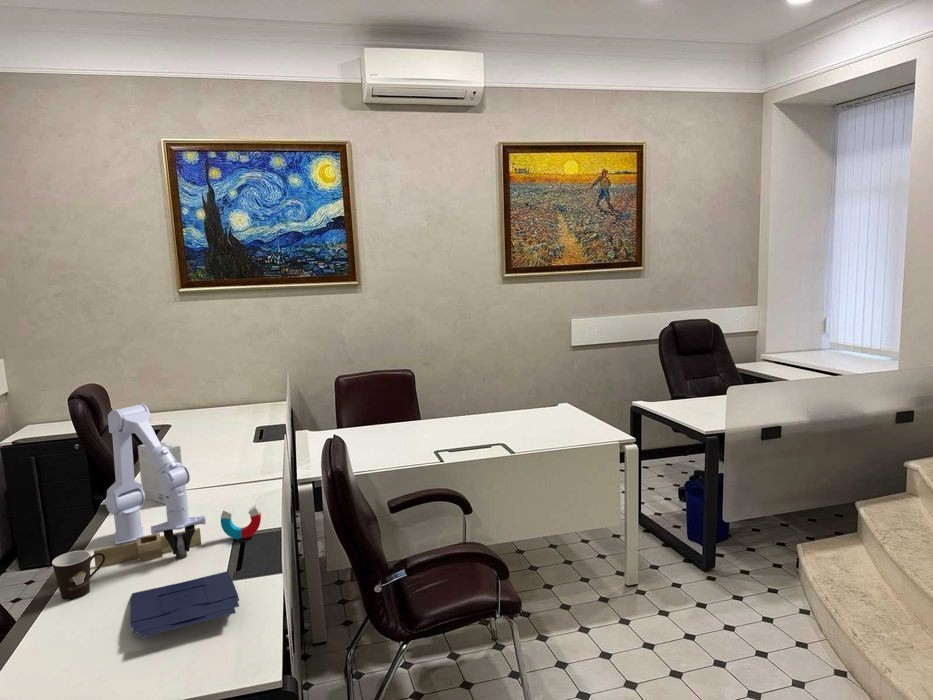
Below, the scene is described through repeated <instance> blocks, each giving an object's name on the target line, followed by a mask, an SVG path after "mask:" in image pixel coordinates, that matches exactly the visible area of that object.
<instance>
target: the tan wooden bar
mask: <svg viewBox="0 0 933 700" xmlns="http://www.w3.org/2000/svg"><path fill="white" fill-rule="evenodd" d="M179 532H180V531H179ZM179 532H173V534H176V533H179ZM182 532H184V533H185V530H182ZM201 536H202V535H201V528H200V527H198V528H195V532H194V534H193V536H192V539H191V543H190V548H192V547H198V546H202V537H201ZM185 538H186V535H185ZM174 545H175V541H174ZM170 552H173V551H172V548H171V546H170V544H169V542H168V541H167V539H166V538H165V536H164V534H163V535H161V532H160V533H156V534H155V535H152V534H148V535H144V536H143V537H138V538H137V540H135V541H131V542H126V543H121V544H115V545H112V546H106V547H103V548H98V549H94V550H93V555H94V554H96V553H102V554H104V556H105V561H104V563H103V565H102V566H101V568H102V567H107V566H111V565H115V564H119V563H124V562H130V561H134V560H138V563H143V562H146V561H151V560H154V559H159V558H163V554H166V553H170ZM93 559H94V566H95V567H94V568H95V569H97V568H98V567H99V565H100V564H101V562H102V560H103V557H102V556H101V555H97V556H95V557H94V558H93Z"/></svg>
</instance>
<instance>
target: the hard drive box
mask: <svg viewBox="0 0 933 700" xmlns="http://www.w3.org/2000/svg"><path fill="white" fill-rule="evenodd" d="M159 442H160V444H161V446H164V447H167V448H168V449H169V451H170V452H171V454H172V455H173V457H174V458H175V460H176V461H177V463H181V465H183V462H182V461H183V460H182V454H181V453H182V452H181V445H176V444H171V443H168V442H164V441H163V442H162V441H159ZM137 453H138V461H139V473H140V483H141V484H142V487H143V491H144V493H145V499H147V500H150V501H153V502H156V503H160V504H163V505H165V506H166V501H165V495H163V492H162V487H161V486H160V483H159V479H160V475H159V474H158V472H157V471H156V469H155V467H154V466H153V464H152V463H151V461H150V459H149V455H150V452H149V450H148V449H147V448H146V447H145V445H144V444H143V443H142V444H140V445H137Z"/></svg>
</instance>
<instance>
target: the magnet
mask: <svg viewBox="0 0 933 700" xmlns="http://www.w3.org/2000/svg"><path fill="white" fill-rule="evenodd" d="M233 512H234V511H233V510H232V509H230V508H228V507H226V506H225V507H224V508H223V511H222V513H221V515H220V526H221V528H222V530H223V532H224V533H225V534H226V536H228V537H230V538H232V539H235V540H240V539H239V538H245V539H248V538H250V537H252V536H253V535H254V534H256V533H257V531H258V529H259V528H260V525H261V522H262V513H261V510H260V507H259V505H258V504H254V505H253V506H252V507H250V508H249V510H248V515H249V517H250V522H249V524H247V526H245V527H240V526H237V525H235V524H234V522H233V521H232V515H233ZM247 537H248V538H247Z"/></svg>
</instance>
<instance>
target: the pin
mask: <svg viewBox="0 0 933 700" xmlns="http://www.w3.org/2000/svg"><path fill="white" fill-rule="evenodd" d="M175 533H176V534H174V541H175V550H176V554H175V559H176V560H184V559H186V558H187V556H188V552H187V549H186V538H185V533H184V532H183V531H179V533H178V532H175Z"/></svg>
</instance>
